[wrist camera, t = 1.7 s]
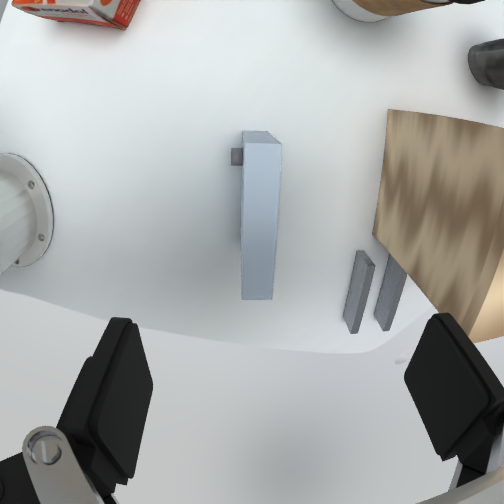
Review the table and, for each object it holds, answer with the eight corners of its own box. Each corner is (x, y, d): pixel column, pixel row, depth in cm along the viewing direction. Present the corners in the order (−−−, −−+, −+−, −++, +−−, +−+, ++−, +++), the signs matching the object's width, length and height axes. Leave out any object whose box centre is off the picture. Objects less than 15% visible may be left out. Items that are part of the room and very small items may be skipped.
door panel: (262, 242, 29) (272, 299, 21) (231, 242, 29) (229, 299, 20) (267, 131, 24) (281, 144, 16) (232, 130, 24) (229, 142, 16)
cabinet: (483, 238, 29) (572, 314, 15) (372, 234, 29) (463, 345, 14) (503, 140, 24) (613, 185, 10) (388, 109, 23) (527, 134, 9)
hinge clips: (379, 314, 33) (389, 330, 30) (343, 316, 33) (350, 333, 30) (396, 251, 30) (409, 265, 27) (356, 250, 29) (367, 265, 27)
